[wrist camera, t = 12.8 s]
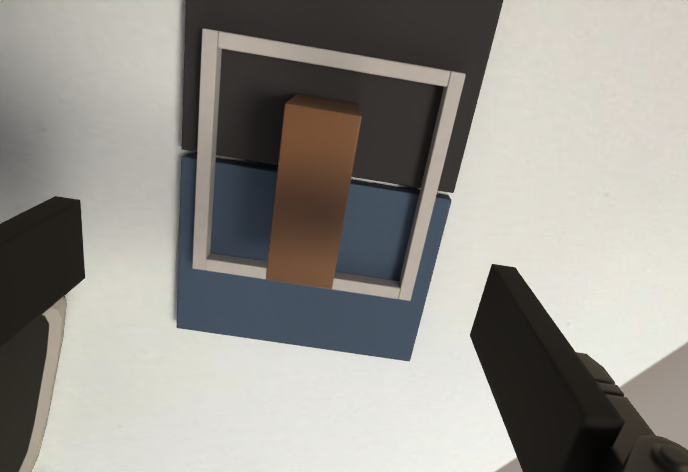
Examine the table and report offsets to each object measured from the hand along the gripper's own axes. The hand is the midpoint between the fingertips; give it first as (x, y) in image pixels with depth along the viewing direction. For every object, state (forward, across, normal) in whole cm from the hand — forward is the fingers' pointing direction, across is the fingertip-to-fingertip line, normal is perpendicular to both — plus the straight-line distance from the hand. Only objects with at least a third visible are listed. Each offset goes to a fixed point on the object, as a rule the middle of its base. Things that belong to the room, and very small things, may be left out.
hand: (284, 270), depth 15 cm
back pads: (+14, 0, 0) cm, 14 cm away
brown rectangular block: (+13, 0, 0) cm, 13 cm away
